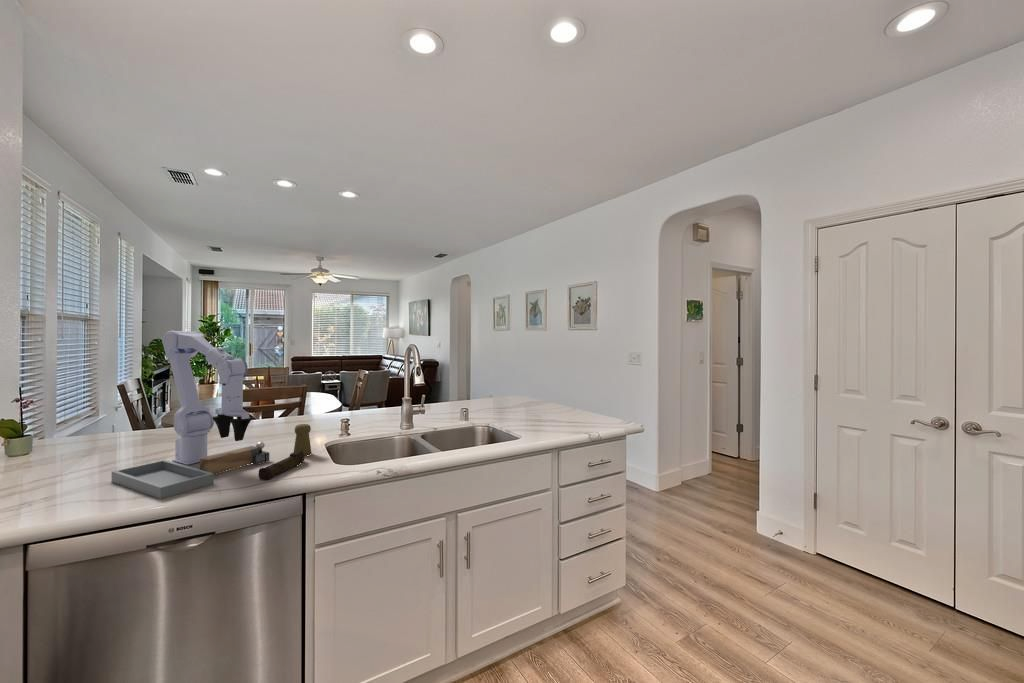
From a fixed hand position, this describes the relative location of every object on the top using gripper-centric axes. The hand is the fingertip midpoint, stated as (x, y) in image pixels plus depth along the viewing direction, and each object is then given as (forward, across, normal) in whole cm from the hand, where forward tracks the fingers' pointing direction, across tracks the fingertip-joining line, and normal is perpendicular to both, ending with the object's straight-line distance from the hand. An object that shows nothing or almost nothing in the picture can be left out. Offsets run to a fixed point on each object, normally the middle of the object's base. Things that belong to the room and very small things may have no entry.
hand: (231, 438), depth 137 cm
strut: (+9, 0, 0) cm, 9 cm away
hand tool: (+10, +16, +6) cm, 20 cm away
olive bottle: (+10, +7, +20) cm, 24 cm away
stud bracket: (+9, 0, +8) cm, 12 cm away
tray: (+9, -3, -18) cm, 20 cm away
